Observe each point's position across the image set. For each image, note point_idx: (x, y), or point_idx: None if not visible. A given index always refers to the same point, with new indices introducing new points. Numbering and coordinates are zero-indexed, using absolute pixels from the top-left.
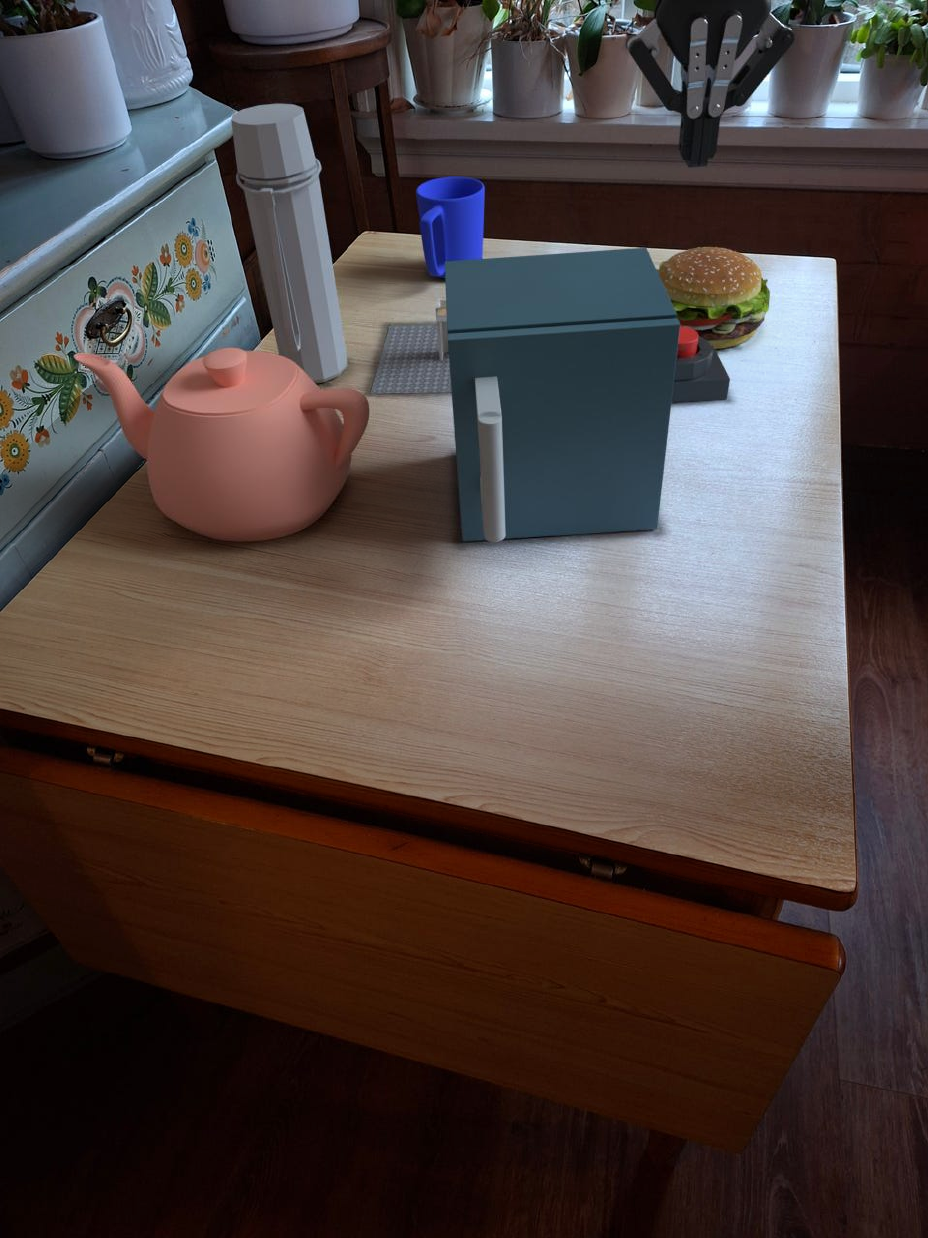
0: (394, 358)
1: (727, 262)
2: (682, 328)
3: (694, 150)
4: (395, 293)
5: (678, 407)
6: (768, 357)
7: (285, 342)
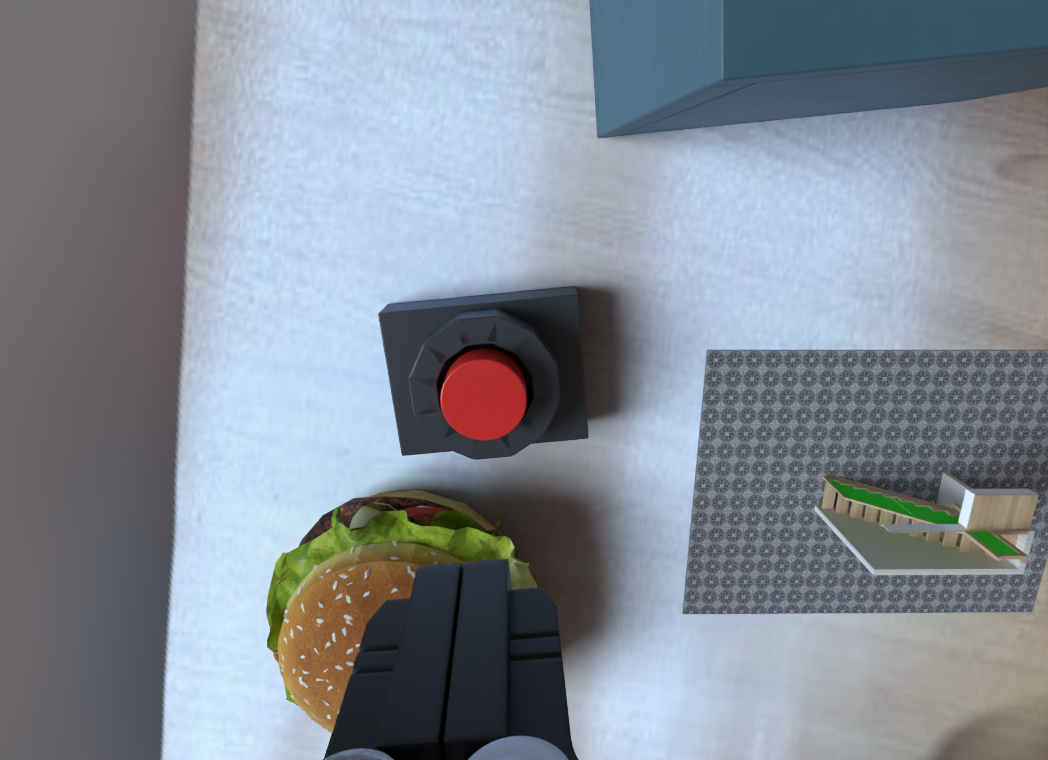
0: (1038, 485)
1: (351, 659)
2: (474, 429)
3: (490, 601)
4: (1002, 730)
5: (486, 276)
6: (292, 463)
7: None
